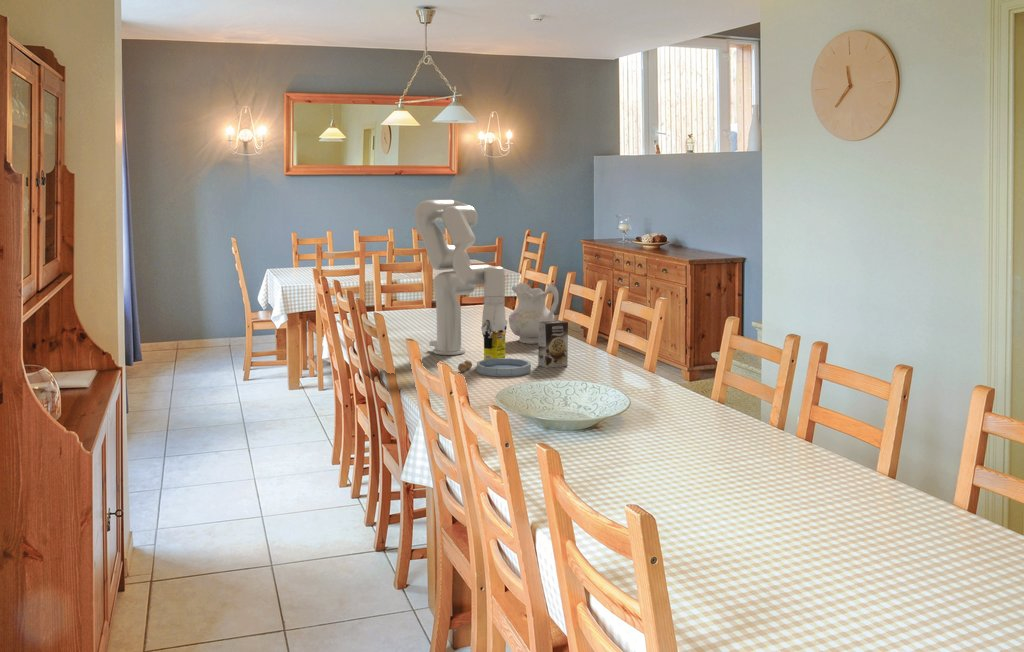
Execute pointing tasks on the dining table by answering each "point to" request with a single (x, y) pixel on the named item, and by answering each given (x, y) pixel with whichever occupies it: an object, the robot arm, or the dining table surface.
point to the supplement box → (496, 346)
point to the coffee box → (553, 344)
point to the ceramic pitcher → (531, 311)
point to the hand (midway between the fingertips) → (494, 346)
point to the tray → (503, 367)
